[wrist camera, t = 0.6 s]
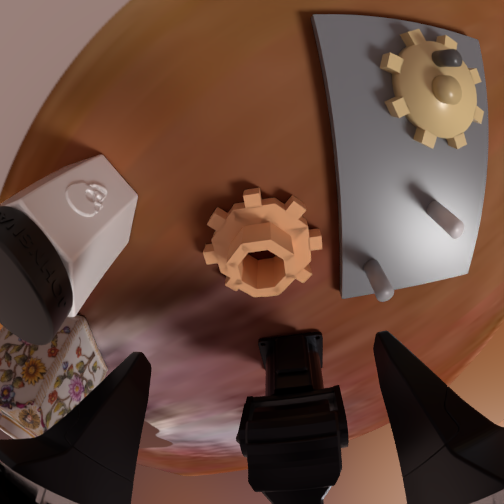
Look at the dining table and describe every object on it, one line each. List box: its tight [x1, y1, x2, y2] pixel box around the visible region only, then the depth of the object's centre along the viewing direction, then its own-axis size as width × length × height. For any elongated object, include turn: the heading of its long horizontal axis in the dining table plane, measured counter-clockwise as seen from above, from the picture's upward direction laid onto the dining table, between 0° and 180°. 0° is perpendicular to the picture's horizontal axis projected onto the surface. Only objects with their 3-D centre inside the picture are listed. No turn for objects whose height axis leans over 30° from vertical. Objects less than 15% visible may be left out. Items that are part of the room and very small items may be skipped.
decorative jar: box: [0, 315, 108, 439], centre depth 22 cm, size 12×12×18 cm
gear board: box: [311, 14, 488, 302], centre depth 15 cm, size 22×14×4 cm, turn 11°
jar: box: [0, 154, 138, 345], centre depth 15 cm, size 9×8×12 cm
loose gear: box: [203, 188, 322, 297], centre depth 20 cm, size 9×9×4 cm
